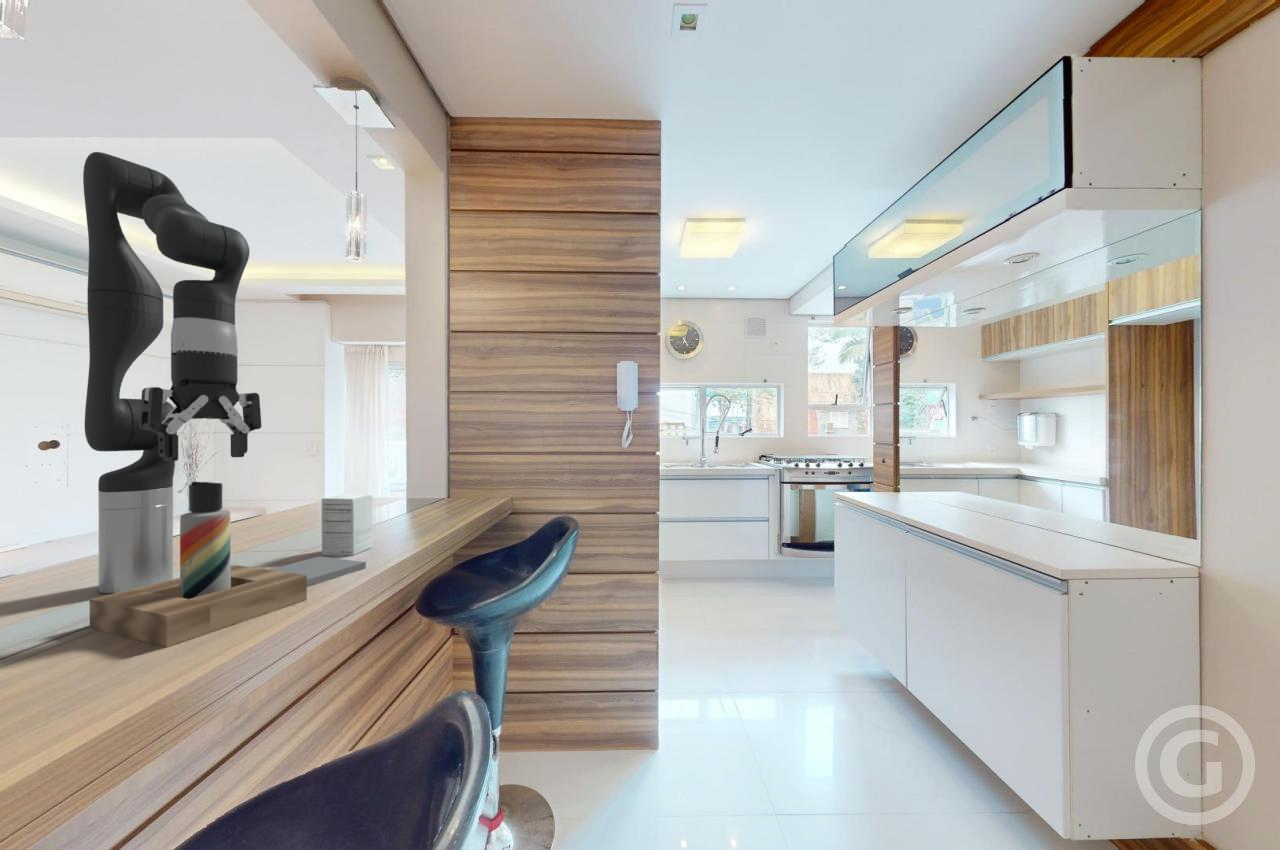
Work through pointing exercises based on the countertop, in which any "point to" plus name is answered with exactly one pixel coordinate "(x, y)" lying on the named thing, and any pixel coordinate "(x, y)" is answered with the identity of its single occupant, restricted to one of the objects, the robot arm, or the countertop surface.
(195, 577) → the lotion bottle
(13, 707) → the countertop surface
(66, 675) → the countertop surface
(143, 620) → the block
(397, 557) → the countertop surface
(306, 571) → the rubber mat
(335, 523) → the supplement box
